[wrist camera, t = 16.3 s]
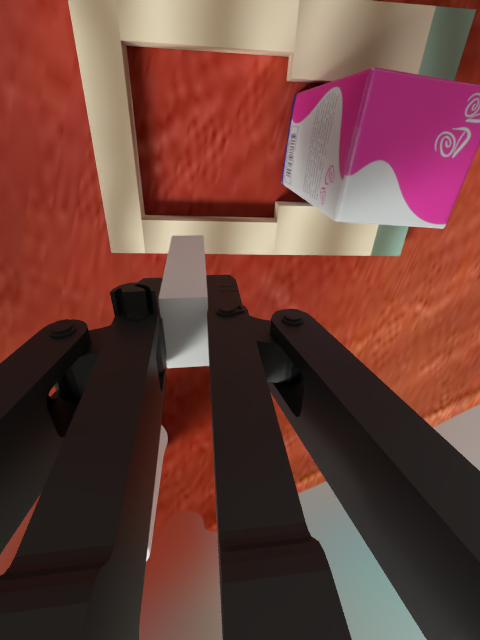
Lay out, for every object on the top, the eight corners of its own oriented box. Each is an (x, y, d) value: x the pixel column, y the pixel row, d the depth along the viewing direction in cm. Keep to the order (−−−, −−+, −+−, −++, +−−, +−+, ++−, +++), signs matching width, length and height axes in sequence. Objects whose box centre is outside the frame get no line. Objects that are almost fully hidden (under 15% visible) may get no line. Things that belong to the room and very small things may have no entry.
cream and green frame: (116, 246, 26) (111, 252, 24) (74, -16, 18) (63, -27, 17) (390, 249, 28) (399, 255, 27) (459, 16, 20) (476, 9, 19)
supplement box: (353, 191, 25) (445, 234, 15) (279, 183, 24) (326, 224, 15) (377, 101, 22) (510, 85, 12) (294, 90, 21) (365, 63, 12)
